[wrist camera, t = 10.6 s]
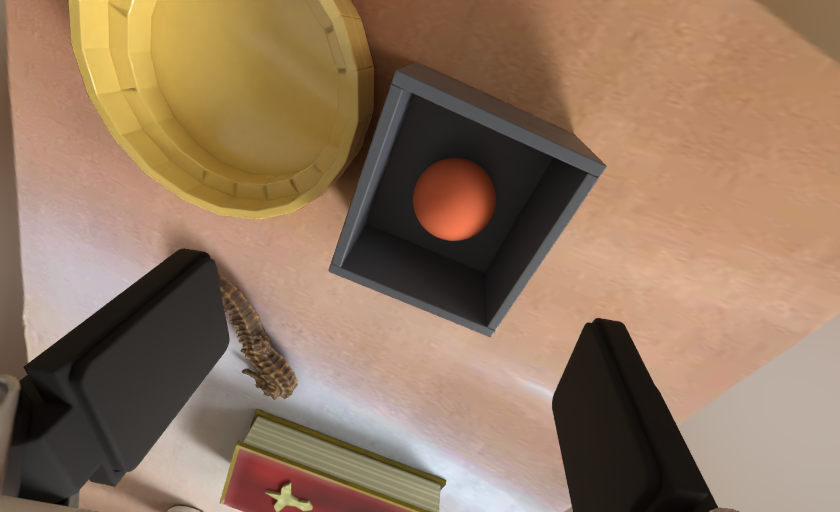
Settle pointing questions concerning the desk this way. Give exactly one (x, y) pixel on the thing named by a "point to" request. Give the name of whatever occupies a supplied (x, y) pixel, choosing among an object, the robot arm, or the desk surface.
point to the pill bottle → (182, 509)
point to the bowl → (230, 94)
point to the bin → (514, 210)
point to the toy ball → (454, 199)
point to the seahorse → (257, 345)
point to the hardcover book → (319, 474)
